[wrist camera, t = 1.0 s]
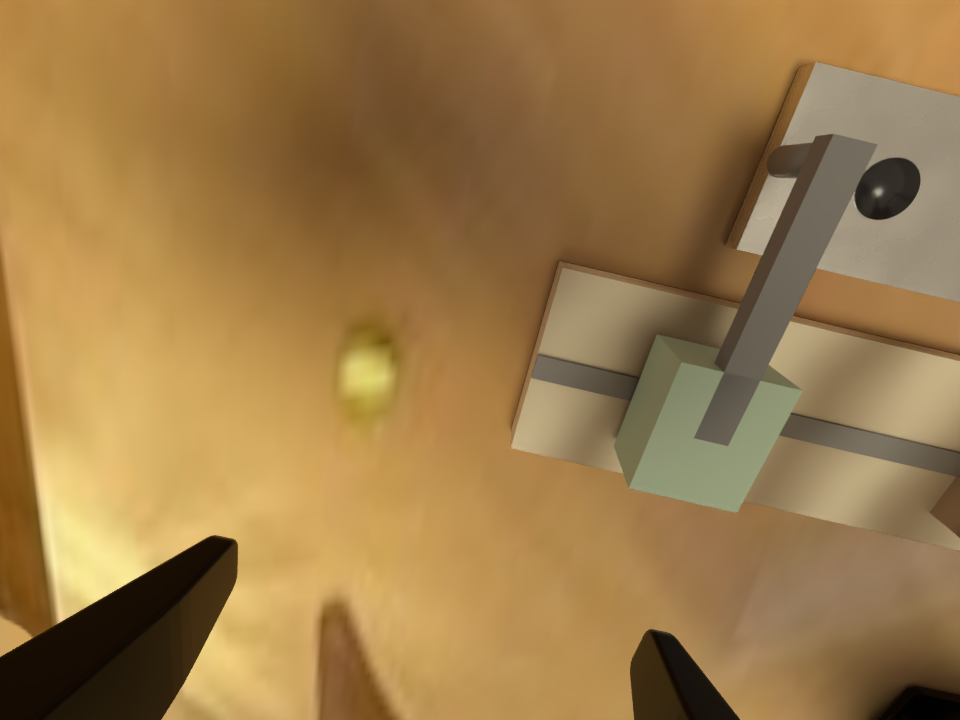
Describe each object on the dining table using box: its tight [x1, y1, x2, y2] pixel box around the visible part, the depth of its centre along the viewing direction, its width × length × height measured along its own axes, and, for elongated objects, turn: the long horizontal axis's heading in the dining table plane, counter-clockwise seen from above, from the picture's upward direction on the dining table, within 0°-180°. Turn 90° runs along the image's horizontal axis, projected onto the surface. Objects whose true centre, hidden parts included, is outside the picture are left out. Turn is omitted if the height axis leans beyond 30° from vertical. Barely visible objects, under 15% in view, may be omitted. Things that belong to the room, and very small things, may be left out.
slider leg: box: [614, 134, 878, 513], centre depth 16 cm, size 4×12×3 cm, turn 167°
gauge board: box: [511, 261, 960, 551], centre depth 17 cm, size 24×14×5 cm, turn 78°
